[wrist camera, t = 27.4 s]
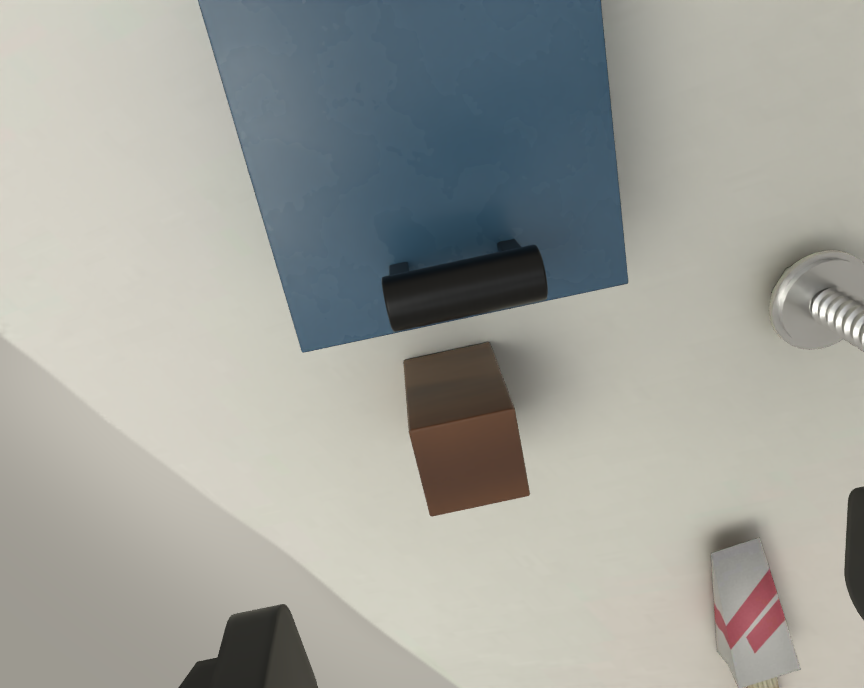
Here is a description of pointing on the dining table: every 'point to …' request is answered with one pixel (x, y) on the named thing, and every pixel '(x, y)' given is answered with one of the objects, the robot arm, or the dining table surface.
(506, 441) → the brown block
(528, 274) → the toolbox lid
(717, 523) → the dining table surface
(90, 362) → the dining table surface
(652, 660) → the dining table surface
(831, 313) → the screw
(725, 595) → the knife with wooden handle
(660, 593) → the dining table surface
